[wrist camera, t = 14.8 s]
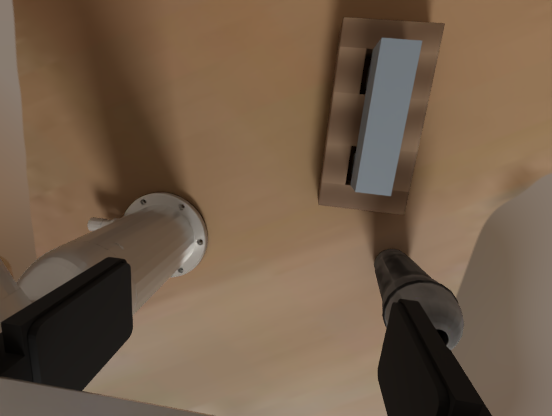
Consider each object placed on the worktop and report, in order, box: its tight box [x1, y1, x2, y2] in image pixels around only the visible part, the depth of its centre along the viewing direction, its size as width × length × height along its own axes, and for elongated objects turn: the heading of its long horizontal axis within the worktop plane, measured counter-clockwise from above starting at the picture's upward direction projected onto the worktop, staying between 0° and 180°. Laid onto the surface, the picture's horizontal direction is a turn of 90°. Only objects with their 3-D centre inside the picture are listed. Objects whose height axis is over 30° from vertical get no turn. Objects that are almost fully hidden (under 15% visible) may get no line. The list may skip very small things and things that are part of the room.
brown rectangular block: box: [318, 17, 445, 215], centre depth 35 cm, size 20×10×4 cm, turn 175°
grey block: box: [351, 38, 422, 196], centre depth 33 cm, size 14×4×9 cm, turn 175°
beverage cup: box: [374, 249, 464, 350], centre depth 31 cm, size 7×7×20 cm
